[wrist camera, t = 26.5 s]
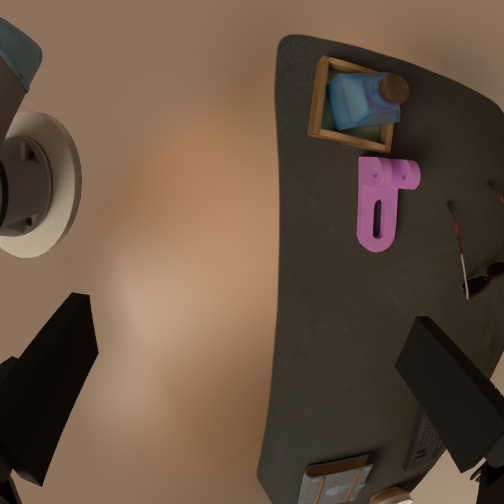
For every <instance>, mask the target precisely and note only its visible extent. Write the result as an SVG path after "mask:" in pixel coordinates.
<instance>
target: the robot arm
mask: <svg viewBox="0 0 504 504" xmlns="http://www.w3.org/2000/svg"><path fill="white" fill-rule="evenodd" d="M41 62H42V51H41V48H40V47H39V45H38V44H37V43H36V42H35V41H33V40H32V39H31V38H30V37H29V36H27V35H26V34H25V33H24V32H22V31H21V30H19V29H18V28H17V27H15V26H14V25H12V24H11V23H9V22H8V21H6V20H4V19H3V18H1V17H0V236H8V237H17V236H22V235H25V234H28V233H30V232H32V231H34V230H35V229H36V228H37V227H38V226H39V225H40V224H41V223H42V222H43V220H44V219H45V217H46V215H47V213H48V211H49V208H50V205H51V201H52V195H53V173H52V168H51V164H50V161H49V158H48V156H47V154H46V152H45V150H44V149H43V147H42V146H41V145H40V144H39V143H38V142H37V141H36V140H34V139H32V138H30V137H26V136H13V137H9V138H6V139H5V137H6V135H7V132H8V130H9V128H10V126H11V123H12V121H13V119H14V117H15V115H16V112H17V110H18V108H19V106H20V104H21V102H22V100H23V98H24V96H25V94H26V93H28V91H29V85H30V84H31V82H32V80H33V78H34V76H35V74H36V72H37V70H38V68H39V66H40V64H41ZM98 353H99V352H98V347H97V342H96V336H95V330H94V325H93V318H92V312H91V304H90V296H89V295H85V294H78V293H71V294H70V295H69V297H68V298H67V299H66V300H65V301H64V302H63V304H62V305H61V306H60V307H59V308H58V309H57V311H56V312H55V313H54V314H53V315H52V317H51V318H50V319H49V320H48V322H47V323H46V324H45V325H44V326H43V328H42V329H41V330H40V331H39V333H38V334H37V335H36V337H35V338H34V339H33V340H32V342H31V343H30V344H29V346H28V347H27V348H26V349H25V351H24V352H23V354H22V355H21V356H20V358H19V359H18V358H15V357H12V356H11V357H10V358H8V359H7V360H6V361H4V362H3V363H1V364H0V504H22V502H21V500H20V497H19V495H18V492H17V489H16V487H15V484H14V481H13V479H12V478H11V476H10V474H11V471H12V469H14V470H15V471H16V473H17V474H18V475H19V476H20V477H21V478H23V479H25V480H27V481H29V482H32V483H34V484H36V485H39V486H41V487H42V485H43V482H44V479H45V476H46V473H47V471H48V468H49V465H50V462H51V460H52V457H53V454H54V451H55V449H56V447H57V444H58V442H59V439H60V436H61V434H62V432H63V429H64V427H65V425H66V422H67V420H68V418H69V415H70V413H71V411H72V408H73V406H74V404H75V401H76V399H77V397H78V395H79V393H80V391H81V389H82V386H83V384H84V382H85V380H86V378H87V376H88V374H89V372H90V370H91V367H92V366H93V363H94V361H95V359H96V357H97V355H98ZM395 367H396V369H397V370H398V372H399V373H400V375H401V376H402V378H403V379H404V381H405V382H406V384H407V386H408V387H409V389H410V390H411V392H412V393H413V395H414V396H415V398H416V400H417V401H418V403H419V404H420V406H421V407H422V409H423V411H424V412H425V414H426V415H427V417H428V419H429V420H430V422H431V423H432V425H433V427H434V428H435V430H436V432H437V433H438V435H439V437H440V438H441V440H442V442H443V443H444V445H445V447H446V448H447V450H448V452H449V453H450V455H451V457H452V459H453V460H454V462H455V464H456V466H457V467H458V469H459V471H460V473H463V472H465V471H467V470H469V469H471V468H473V467H474V466H475V465H476V464H478V462H479V461H480V460H481V459H482V458H483V457H484V458H485V459H486V461H485V463H484V464H483V465H482V466H481V467H480V468H478V469H477V471H475V472H474V474H472V476H471V478H470V480H473V479H474V478H475V477H476V476H477V475H478V474H479V473H481V474H480V475H479V476H478V477H477V478H476V480H475V481H476V482H480V483H479V490H478V496H477V502H476V504H504V396H503V395H501V394H500V392H499V390H498V389H497V388H495V386H494V384H493V383H492V382H491V381H490V380H489V379H488V378H487V377H486V376H484V375H483V374H482V373H481V372H480V370H479V369H478V368H477V367H476V366H475V365H474V364H473V363H472V361H471V360H470V359H469V358H468V357H467V356H466V355H465V354H464V353H463V352H462V351H461V350H460V348H459V347H458V346H457V345H456V344H455V343H454V342H453V341H452V340H451V339H450V338H449V337H448V336H447V335H446V334H445V333H444V332H443V331H442V330H441V329H440V327H439V326H438V325H437V324H436V323H435V322H434V321H433V320H432V319H431V318H430V317H429V316H421V317H416V318H415V320H414V323H413V325H412V328H411V330H410V333H409V335H408V338H407V340H406V342H405V344H404V347H403V349H402V351H401V353H400V356H399V358H398V360H397V362H396V364H395Z"/></svg>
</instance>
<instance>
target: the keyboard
mask: <svg viewBox="0 0 504 504" xmlns="http://www.w3.org/2000/svg"><path fill="white" fill-rule="evenodd" d="M442 443H443V442H442V440H441V438H440V437H439V435H438V433H437V432H436V430H435V428H434V427H433V425H432V423H431V422H430V420H429V419H428V417H427V415H426V414H425V412H424V411H423V409H422V407H421V406H420V408H419V412H418V416H417V420H416V424H415V428H414V432H413V436H412V439H411V443H410V446H409V450H408V453H407V456H406V460H405V463H404V466H403V469H404V471H409V470H412V469H414V468H416V467H418V466H421V465H423V464H425V463H427V462H429V461H430V460H431V459H433V458H435V457H436V456H437V455H438V452H439V450H440V448H441V445H442Z"/></svg>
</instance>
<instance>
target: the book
mask: <svg viewBox="0 0 504 504" xmlns="http://www.w3.org/2000/svg"><path fill="white" fill-rule="evenodd" d="M368 457H369V454H366V455H362V456H358V457H353V458H349V459H344V460H339V461H334V462H329V463H323V464H317V465H311V466H307V467H306V469H305V471H304V476H303V481H302V487H301V492H300V496H299V501H298V504H339V503H345V502H348V501H352V500H355V499H356V497H357V495H358V493H359V491H360V489H361V488H362V487H364V485H365V483H366V482H365V480H366V478H367V476H368V474H369V472H370V470H371V468H372V466H373V464H369V465H366V461H367V459H368Z"/></svg>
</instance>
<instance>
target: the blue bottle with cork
mask: <svg viewBox="0 0 504 504" xmlns="http://www.w3.org/2000/svg"><path fill="white" fill-rule="evenodd" d="M326 92H327V96H328V100H329V104H330V109H331V113H332V117H333V122H334V126H335V131H339V130H347V129H355V128H364V127H373V126H380V125H385V124H391V123H396V122H400V107H399V105H400V104H401V103H404V102H405V101H407V99H408V97H409V87H408V85H407V83H406V81H405V80H404V79H403V78H402V77H401V76H399V75H397V74H393V73H391V74H389V73H388V72H380V73H351V74H340V75H339V76H338V77H336V78H335V79H334V80H332V81H331V82H330V83H328V84H327V85H326Z"/></svg>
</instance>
